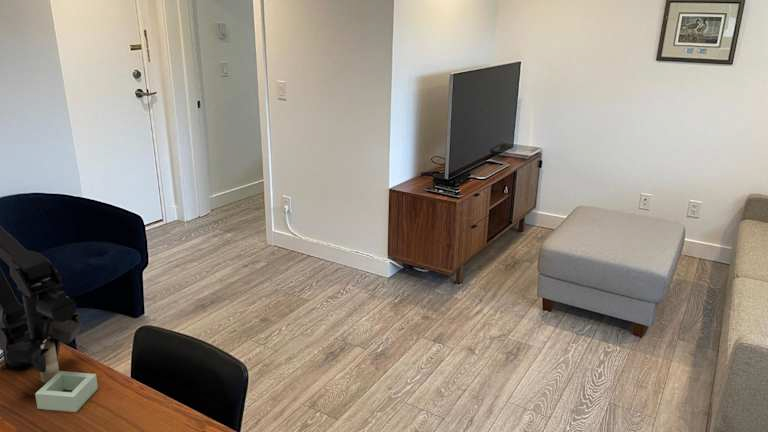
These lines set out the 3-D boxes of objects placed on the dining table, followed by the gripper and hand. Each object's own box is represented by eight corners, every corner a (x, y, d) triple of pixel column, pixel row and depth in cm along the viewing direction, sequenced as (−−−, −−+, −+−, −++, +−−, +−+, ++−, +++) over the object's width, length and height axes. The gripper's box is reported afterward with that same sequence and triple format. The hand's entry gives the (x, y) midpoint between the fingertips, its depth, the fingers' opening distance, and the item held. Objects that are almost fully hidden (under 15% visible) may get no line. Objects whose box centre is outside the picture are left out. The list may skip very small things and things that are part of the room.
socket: (37, 408, 131) (35, 393, 130) (61, 385, 139) (59, 370, 138) (76, 412, 130) (73, 397, 129) (97, 388, 139) (96, 374, 138)
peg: (37, 381, 140) (31, 349, 137) (47, 372, 144) (42, 340, 141) (53, 383, 140) (48, 350, 137) (63, 373, 144) (58, 341, 141)
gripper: (46, 332, 127) (56, 392, 132) (94, 294, 144) (101, 349, 149) (-2, 328, 127) (10, 388, 132) (51, 291, 145) (60, 345, 150)
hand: (48, 367), depth 141 cm, fingers closed on peg, 4 cm apart
